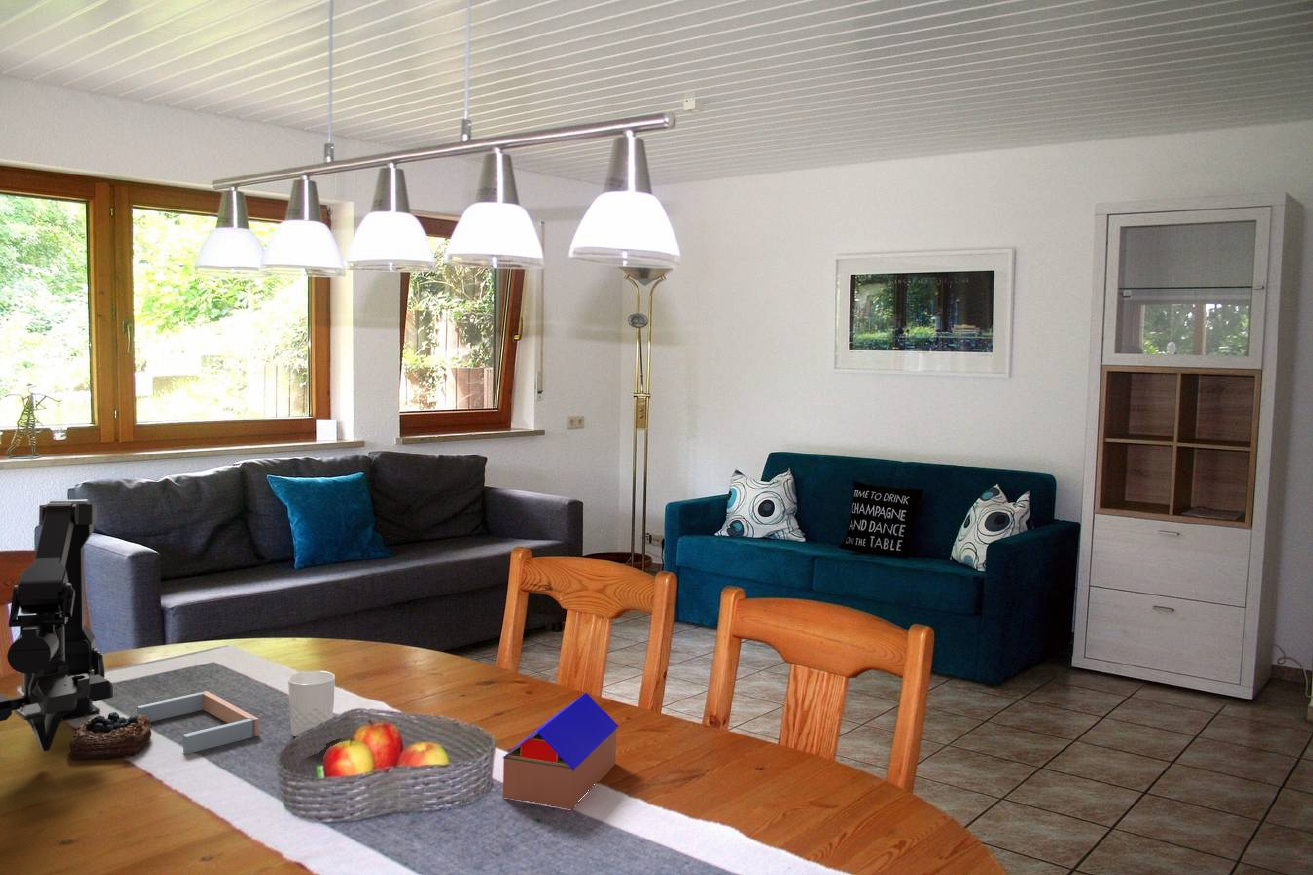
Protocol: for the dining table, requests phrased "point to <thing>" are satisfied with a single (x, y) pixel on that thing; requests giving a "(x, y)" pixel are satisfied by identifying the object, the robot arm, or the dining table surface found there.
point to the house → (562, 756)
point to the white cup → (310, 699)
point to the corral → (237, 719)
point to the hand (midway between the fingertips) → (45, 750)
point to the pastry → (110, 737)
